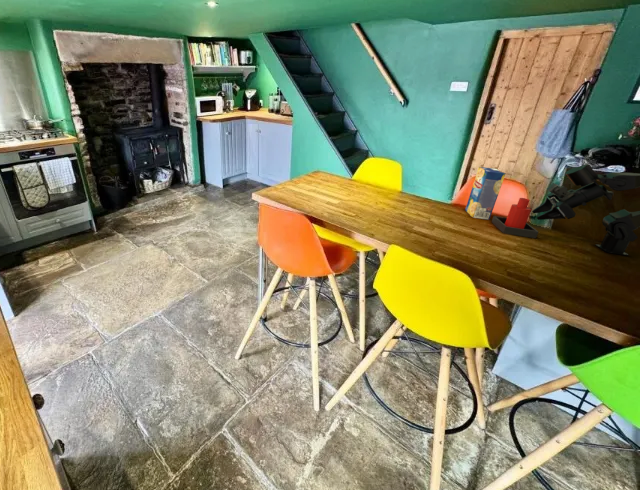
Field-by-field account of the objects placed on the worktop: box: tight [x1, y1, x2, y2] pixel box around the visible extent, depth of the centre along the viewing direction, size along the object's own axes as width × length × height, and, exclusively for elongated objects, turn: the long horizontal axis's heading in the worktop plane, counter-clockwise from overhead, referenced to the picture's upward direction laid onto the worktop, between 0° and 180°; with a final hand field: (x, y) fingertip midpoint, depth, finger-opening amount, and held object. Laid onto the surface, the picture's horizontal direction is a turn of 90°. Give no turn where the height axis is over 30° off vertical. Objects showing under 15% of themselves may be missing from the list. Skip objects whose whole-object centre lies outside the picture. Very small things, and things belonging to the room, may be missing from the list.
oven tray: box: [491, 215, 539, 239], centre depth 128 cm, size 13×11×3 cm
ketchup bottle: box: [505, 197, 533, 229], centre depth 126 cm, size 6×6×14 cm
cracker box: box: [464, 166, 507, 221], centre depth 141 cm, size 7×11×22 cm, turn 162°
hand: (534, 215), depth 124 cm, fingers open, 9 cm apart
